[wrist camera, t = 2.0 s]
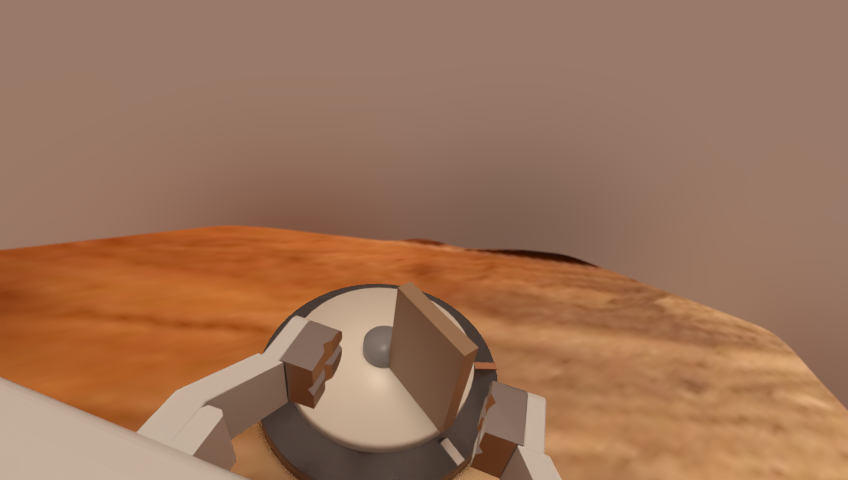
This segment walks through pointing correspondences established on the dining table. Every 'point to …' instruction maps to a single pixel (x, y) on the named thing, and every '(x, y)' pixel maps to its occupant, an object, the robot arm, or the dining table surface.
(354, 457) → the dial housing
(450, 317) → the dial
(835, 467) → the dining table surface
